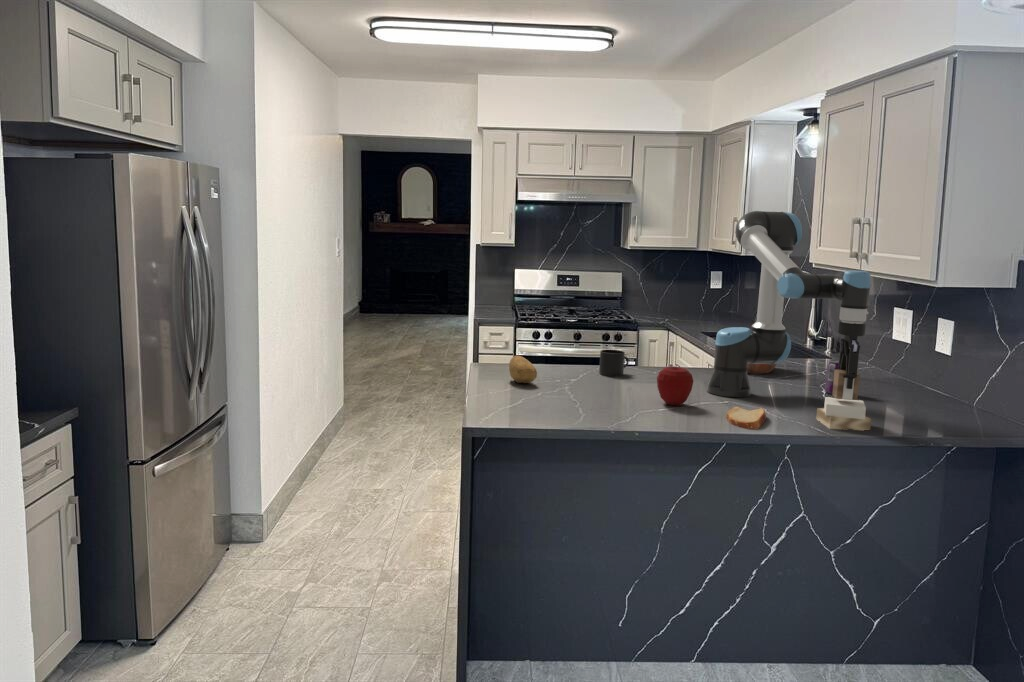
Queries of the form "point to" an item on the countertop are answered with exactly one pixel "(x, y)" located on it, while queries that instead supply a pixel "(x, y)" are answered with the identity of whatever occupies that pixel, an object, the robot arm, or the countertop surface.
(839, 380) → the walnut block
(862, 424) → the tower base
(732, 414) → the slice of bread
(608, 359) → the mug
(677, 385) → the apple
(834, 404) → the tower top
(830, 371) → the beverage can
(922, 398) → the countertop surface
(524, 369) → the potato
